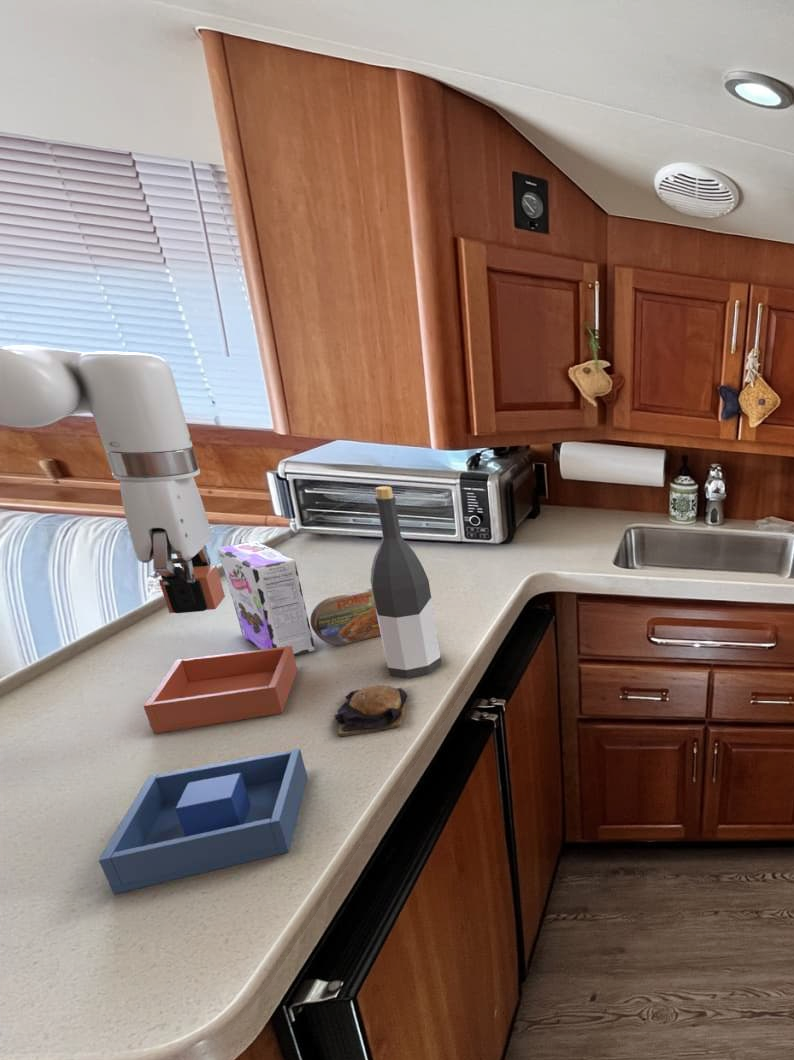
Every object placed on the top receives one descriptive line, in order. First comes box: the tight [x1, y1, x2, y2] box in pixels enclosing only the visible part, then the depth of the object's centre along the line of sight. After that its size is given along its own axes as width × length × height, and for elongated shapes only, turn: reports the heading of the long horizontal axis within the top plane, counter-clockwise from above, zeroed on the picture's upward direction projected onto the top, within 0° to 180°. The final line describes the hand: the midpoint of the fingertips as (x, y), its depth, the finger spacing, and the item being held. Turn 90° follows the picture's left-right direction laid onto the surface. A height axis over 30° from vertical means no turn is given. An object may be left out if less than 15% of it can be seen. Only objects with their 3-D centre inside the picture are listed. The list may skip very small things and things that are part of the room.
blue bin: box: [98, 748, 308, 895], centre depth 69 cm, size 14×14×4 cm
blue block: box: [175, 773, 251, 837], centre depth 69 cm, size 4×4×4 cm
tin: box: [310, 587, 381, 646], centre depth 112 cm, size 15×3×8 cm, turn 141°
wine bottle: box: [370, 485, 442, 679], centre depth 99 cm, size 8×8×30 cm
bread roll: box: [334, 684, 408, 737], centre depth 91 cm, size 11×8×4 cm
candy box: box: [217, 540, 316, 657], centre depth 105 cm, size 14×6×16 cm, turn 57°
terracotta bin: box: [143, 646, 299, 734], centre depth 92 cm, size 14×14×4 cm
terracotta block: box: [158, 564, 226, 614], centre depth 82 cm, size 4×4×4 cm
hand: (197, 602), depth 82 cm, fingers closed on terracotta block, 4 cm apart
